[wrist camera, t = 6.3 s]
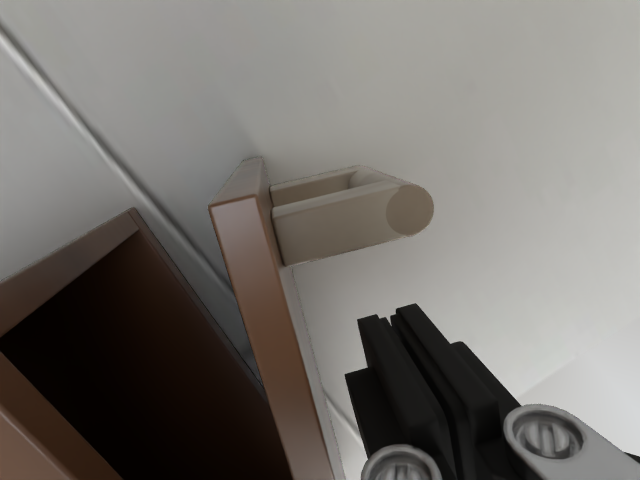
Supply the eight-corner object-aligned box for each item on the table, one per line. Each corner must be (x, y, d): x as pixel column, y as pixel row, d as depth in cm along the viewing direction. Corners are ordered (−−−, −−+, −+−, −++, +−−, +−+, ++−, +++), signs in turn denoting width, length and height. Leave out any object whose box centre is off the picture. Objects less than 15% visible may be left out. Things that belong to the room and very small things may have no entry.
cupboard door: (352, 134, 15) (479, 139, 6) (410, 445, 20) (531, 705, 11) (241, 160, 15) (205, 205, 6) (327, 469, 19) (380, 759, 10)
